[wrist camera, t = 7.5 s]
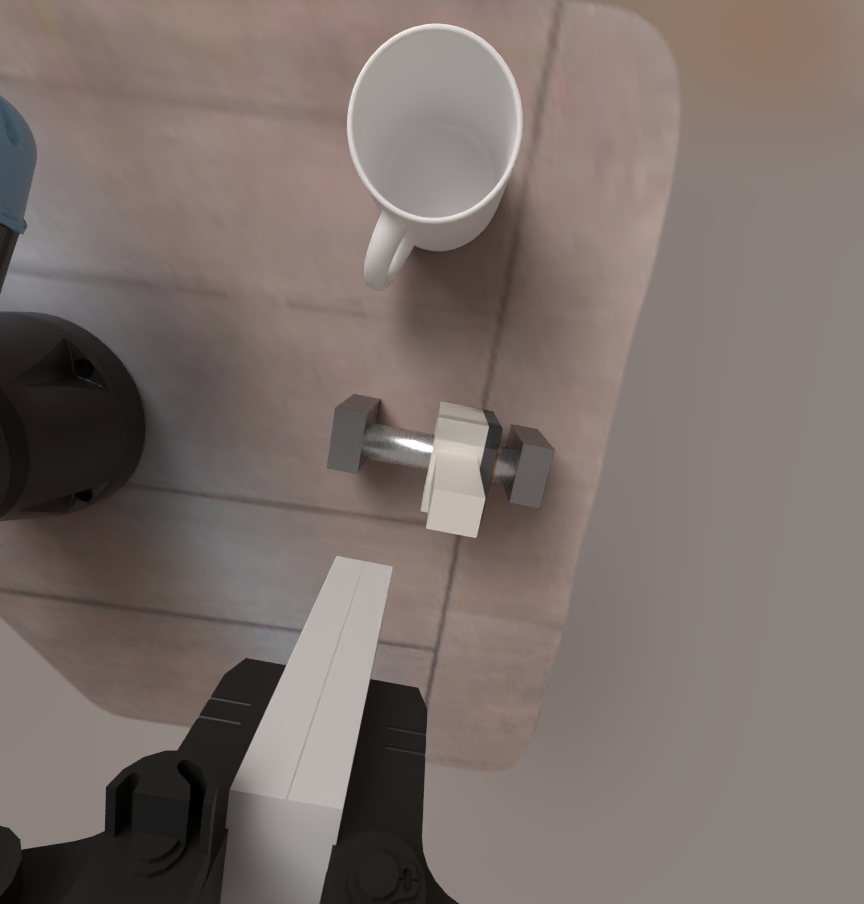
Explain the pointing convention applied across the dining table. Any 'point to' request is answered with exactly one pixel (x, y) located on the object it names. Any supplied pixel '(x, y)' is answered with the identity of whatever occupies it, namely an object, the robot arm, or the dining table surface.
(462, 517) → the sleeve
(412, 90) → the mug
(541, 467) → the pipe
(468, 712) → the dining table surface
